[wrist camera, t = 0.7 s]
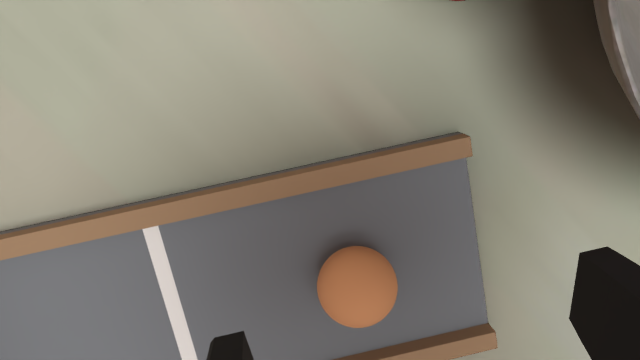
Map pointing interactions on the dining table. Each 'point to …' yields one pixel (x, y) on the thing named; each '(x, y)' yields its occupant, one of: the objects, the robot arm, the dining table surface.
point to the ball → (357, 286)
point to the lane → (256, 266)
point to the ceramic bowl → (622, 43)
